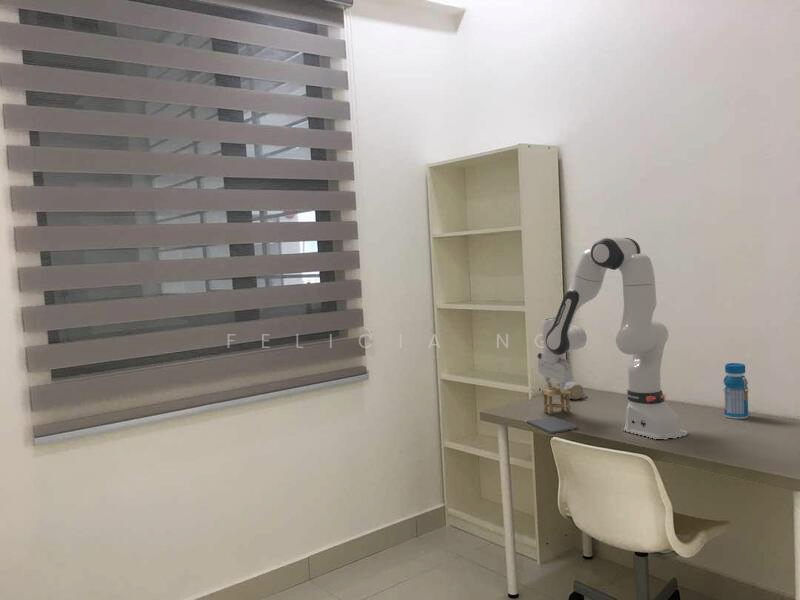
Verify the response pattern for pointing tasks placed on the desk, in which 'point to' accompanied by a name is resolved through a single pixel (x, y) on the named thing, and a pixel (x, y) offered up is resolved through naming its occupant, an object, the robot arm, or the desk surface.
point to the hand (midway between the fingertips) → (555, 389)
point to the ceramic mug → (575, 390)
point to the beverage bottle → (735, 391)
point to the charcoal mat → (552, 425)
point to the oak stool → (555, 392)
